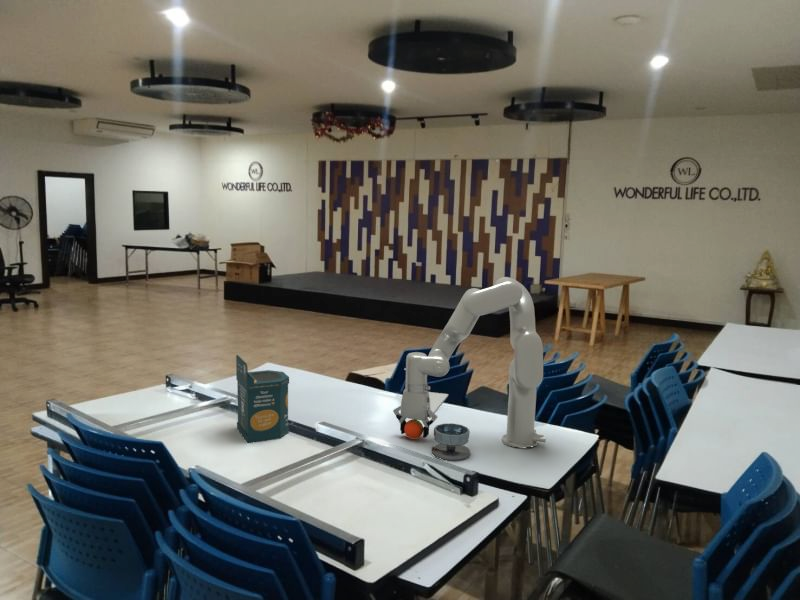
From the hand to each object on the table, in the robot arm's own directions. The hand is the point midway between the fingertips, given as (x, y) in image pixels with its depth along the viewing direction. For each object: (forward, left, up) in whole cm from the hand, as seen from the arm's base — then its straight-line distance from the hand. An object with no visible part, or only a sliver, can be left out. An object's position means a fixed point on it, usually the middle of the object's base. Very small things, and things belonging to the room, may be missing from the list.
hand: (414, 434), depth 220 cm
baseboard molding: (+10, -39, -2) cm, 40 cm away
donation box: (+51, +19, -2) cm, 54 cm away
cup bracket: (-16, +7, -2) cm, 18 cm away
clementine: (0, 0, -2) cm, 2 cm away
